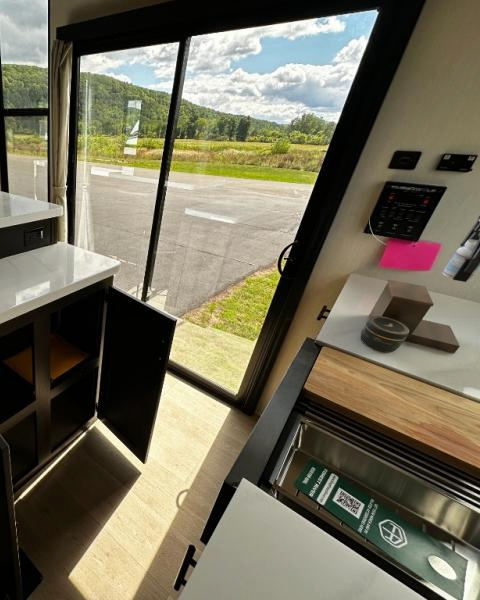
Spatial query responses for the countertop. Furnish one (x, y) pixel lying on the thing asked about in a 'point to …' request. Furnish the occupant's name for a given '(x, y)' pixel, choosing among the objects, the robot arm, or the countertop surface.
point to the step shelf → (414, 315)
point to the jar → (384, 333)
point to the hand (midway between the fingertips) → (456, 275)
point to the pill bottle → (460, 259)
